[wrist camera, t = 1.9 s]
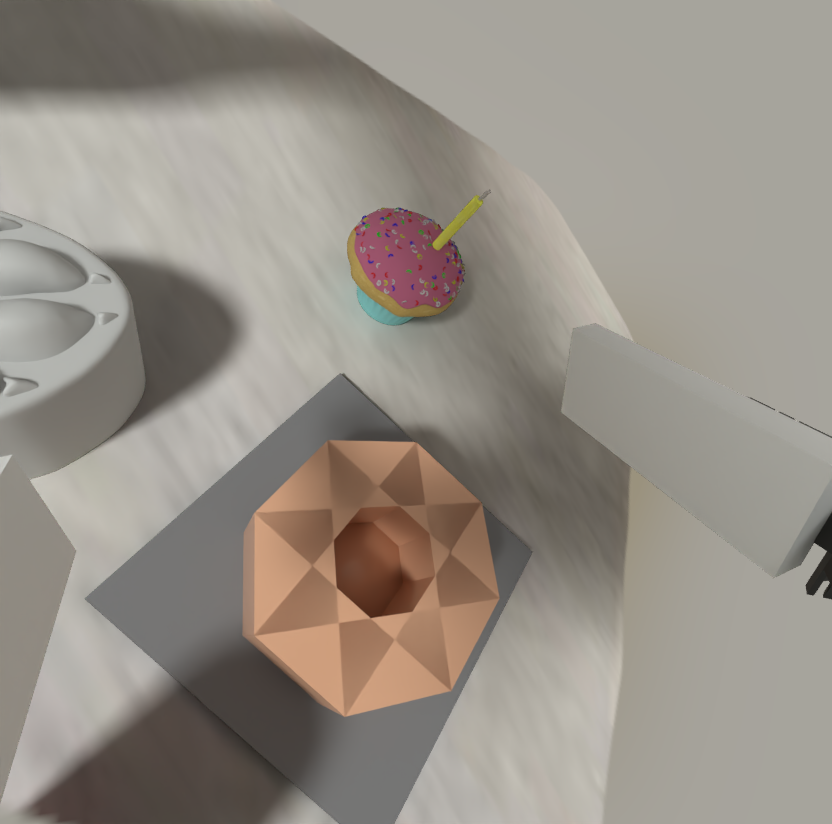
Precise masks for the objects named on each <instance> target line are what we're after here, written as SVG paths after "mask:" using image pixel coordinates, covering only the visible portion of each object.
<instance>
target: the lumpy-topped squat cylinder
mask: <svg viewBox="0 0 832 824" xmlns="http://www.w3.org/2000/svg"><path fill="white" fill-rule="evenodd" d="M145 384H146V377H145V370H144V365H143V359H142V353H141V347H140V341H139V336H138V331H137V326H136V320H135V315H134V309H133V302H132V299H131V296H130V293H129V291H128V289H127V287H126V286H125V284H124V283H123V281H122V279H121V278H120V277H119V276H118V274H117V273H116V272H115V271H114V270H113V269H112V268H111V267H109V266H108V265H107V264H106V263H105V262H104V261H103V260H102V259H100V258H99V257H98V256H96V255H95V254H94V253H92V252H91V251H90V250H88V249H87V248H86V247H84V246H83V245H81V244H79V243H78V242H76V241H74V240H73V239H71V238H69V237H67V236H65V235H63V234H60V233H58V232H56V231H54V230H51V229H49V228H46V227H44V226H42V225H39V224H36V223H34V222H31V221H28V220H26V219H23V218H20V217H17V216H15V215H12V214H9V213H6V212H3V211H0V457H3V456H8V455H13V456H14V458H15V459H16V461H17V462H18V464H19V465H20V467H21V468H22V470H23V471H24V473H25V474H26V476H27V477H28V479H33V478H37V477H40V476H43V475H46V474H49V473H52V472H55V471H57V470H59V469H61V468H63V467H65V466H67V465H69V464H70V463H72V462H74V461H75V460H77V459H79V458H80V457H82V456H83V455H85V454H86V453H88V452H90V451H91V450H93V449H94V448H95V447H97V446H98V445H100V444H101V443H103V442H104V441H105V440H107V439H108V438H109V437H111V436H112V435H113V434H114V433H115V432H117V431H118V430H119V429H120V428H121V427H122V426H123V424H124V423H125V422H126V421H127V420H128V418H129V417H130V416H131V414H132V413H133V412H134V410H135V409H136V407H137V405H138V404H139V402H140V400H141V398H142V396H143V393H144V390H145Z"/></svg>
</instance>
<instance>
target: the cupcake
mask: <svg viewBox="0 0 832 824" xmlns="http://www.w3.org/2000/svg"><path fill="white" fill-rule="evenodd" d="M489 193H491V190H488V191H486V192H485V193H484V194H483V195H482V196H481V197H479V196H478V195H476V196H474V198H473V199H472V200H471V201H470V202H469V203H468V204H467V205H466V206H465V208H464V209H463V210H462V211H461V212H460V213H459V214H458V215H457V216H456V217H455V219H454V220H453V221H452V222H451V223H450V224H449V225H448V226H447V227H446V229H445V230H443V229H441V227H440V225H439V224H438V225H437V224H436V222H435V221H434V220H433V221H432V220H431V219H429V218H427V217H425V216H423V215H421V214H418V213H415V212H411V211H408V210H404V209H401V208H396V209H389V208H381V209H380V210H379V209H378V210H377V211H375V212H373V213H371V214H369V215H367V216H363V218H362V220H361V221H360V222H359V223H358V225H357V226H356V227H355V228H354V229H353V230H352V232H351V234H350V236H349V238H348V242H347V254H348V259H349V262H350V265H351V275H352V278H353V279H354V281H355V282H356V284H357V296H358V300H359V303H360V305H361V307H362V308H363V309H364V311H365V312H366V313H367V314H368V315H369V316H370V317H372V318H373V319H375V320H376V321H378V322H381V323H383V324H387V325H400V324H403V323H405V322H407V321H409V320H410V319H412V318H413V317H425V316H433V315H437V314H439V313H442V312H443V311H445V310H446V309H447V308H448V307H449V306H450V305H451V304H452V303H453V301H454V300H455V298H456V297H457V295H458V293H459V292H460V288H461V287H462V282H464V279H463V276H464V275H465V270H464V264H462V260H461V255H460V254H459V251H458V248H457V246H456V245H455V242H454V241H451V240H450V238H451V237H452V236H453V235H454V234H455V233H456V232H457V231H458V230H459V229H460V228H461V227H462V226H463V224H464V223H465V222H466V221H467V220H468V219H469V218H470V217H471V216H472V215H473V214H474V213H475V212H476V211H477V210H478V208H479V207H480V206H481V205H482V204H483V200H482V199H484V198H485V197H486V196H487V195H488V194H489Z"/></svg>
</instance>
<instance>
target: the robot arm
mask: <svg viewBox="0 0 832 824" xmlns="http://www.w3.org/2000/svg"><path fill="white" fill-rule="evenodd" d="M561 413H562V414H564V415H565V416H566V417H568V418H569V419H570V420H571V421H573V422H574V423H575V424H577V425H578V426H579V427H580V428H582V429H583V430H584V431H586V432H587V433H588V434H589V435H591V436H592V437H593V438H595V439H596V440H597V441H598V442H600V443H601V444H602V445H603V446H605V447H606V448H607V449H609V450H610V451H611V452H612V453H614V454H615V455H616V456H618V457H619V458H620V459H621V460H623V461H624V462H625V463H627V464H628V465H629V466H630V467H632V468H633V469H634V470H636V471H637V472H638V473H639V474H641V475H642V476H643V477H644V478H646V479H647V480H648V481H650V482H651V483H652V484H654V485H655V486H656V487H658V488H659V489H660V490H661V491H663V492H664V493H665V494H666V495H668V496H669V497H670V498H671V499H673V500H674V501H675V502H677V503H678V504H679V505H681V506H682V507H683V508H684V509H686V510H687V511H688V512H689V513H691V514H692V515H693V516H695V517H696V518H697V519H698V520H700V521H701V522H702V523H703V524H705V525H706V526H707V527H709V528H710V529H711V530H713V531H714V532H715V533H717V534H718V535H719V536H720V537H721V538H723V539H724V540H725V541H727V542H728V543H729V544H731V545H732V546H733V547H734V548H736V549H737V550H738V551H739V552H741V553H742V554H743V555H745V556H746V557H747V558H748V559H750V560H751V561H752V562H753V563H755V564H756V565H757V566H759V567H760V568H762V570H764V571H765V572H766V573H768V574H769V575H770V576H772V577H773V578H775V577H777V576H779V575H781V574H783V573H785V572H787V571H789V570H791V569H793V568H796V567H797V566H799V565H801V564H802V562H803V560H804V559H805V557H806V555H807V554H808V552H809V550H810V549H811V547H812V546H813V544H814V543H816V544H817V545H819V546H820V547H822V548H823V549H825V550H826V551H827V552H826V554H825V556H824V557H823V559H822V560H821V562H820V563H819V565H818V567H817V568H816V570H815V571H814V573H813V574H812V576H811V578H810V579H809V581H808V582H807V584H806V591H807V594H809V595H814V594H815V593H816V591H817V590H818V588H819V587H820V585H821V584H822V582H823V581H829V582H830V584H829V585H828V587H827V588H826V590H825V592H824V594H823V598H829V599H832V437H831V436H829V435H827V434H825V433H823V432H821V431H819V430H816V429H814V428H812V427H810V426H808V425H806V424H804V423H802V422H798V421H796V420H795V419H794V418H792V417H790V416H788V415H785V414H783V413H781V412H777V411H775V409H773V408H771V407H769V406H767V405H765V404H763V403H761V402H759V401H757V400H754V399H752V398H749V397H746V396H744V395H742V394H740V393H738V392H736V391H734V390H732V389H730V388H728V387H725V386H723V385H721V384H719V383H717V382H715V381H713V380H711V379H709V378H707V377H705V376H703V375H701V374H699V373H696V372H694V371H693V370H690V369H688V368H686V367H684V366H682V365H680V364H678V363H676V362H674V361H672V360H670V359H668V358H666V357H664V356H662V355H659V354H658V353H655V352H653V351H651V350H649V349H647V348H645V347H643V346H641V345H639V344H637V343H635V342H633V341H631V340H629V339H627V338H625V337H623V336H620V335H618V334H616V333H614V332H612V331H610V330H608V329H606V328H604V327H602V326H600V325H598V324H596V323H595V324H590V325H586V326H582V327H577V328H573V332H572V338H571V345H570V352H569V359H568V366H567V373H566V380H565V387H564V394H563V401H562V408H561ZM75 553H76V550H75V548H74V547H73V545H72V544H71V542H70V541H69V539H68V538H67V536H66V535H65V533H64V532H63V530H62V529H61V527H60V526H59V524H58V523H57V521H56V520H55V518H54V517H53V515H52V514H51V512H50V510H49V509H48V507H47V506H46V504H45V503H44V501H43V500H42V498H41V497H40V495H39V494H38V492H37V491H36V489H35V488H34V486H33V485H32V483H31V482H30V480H29V479H28V477H27V476H26V474H25V473H24V471H23V470H22V468H21V467H20V465H19V464H18V462H17V461H16V459H15V458H14V456H13V455H8V456H3V457H0V802H1V799H2V796H3V792H4V789H5V786H6V782H7V779H8V776H9V773H10V769H11V766H12V763H13V759H14V756H15V753H16V749H17V746H18V743H19V739H20V736H21V733H22V729H23V726H24V723H25V719H26V716H27V713H28V709H29V706H30V703H31V699H32V696H33V693H34V689H35V686H36V683H37V679H38V676H39V673H40V670H41V666H42V663H43V660H44V656H45V653H46V650H47V646H48V643H49V640H50V636H51V633H52V630H53V626H54V623H55V620H56V616H57V613H58V610H59V606H60V603H61V600H62V596H63V593H64V590H65V586H66V583H67V580H68V576H69V573H70V570H71V567H72V563H73V560H74V557H75Z"/></svg>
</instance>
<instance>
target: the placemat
mask: <svg viewBox="0 0 832 824" xmlns="http://www.w3.org/2000/svg"><path fill="white" fill-rule="evenodd" d="M327 440H340V441H388V442H413V441H412V440H411V439H410V438H409V437H408V436H407V435H406V434H405V433H404V432H403V431H402V430H401V429H399V428H398V427H397V426H396V425H395V424H394V423H393V422H392V421H391V420H390V419H389V418H388V417H387V416H385V415H384V414H383V413H382V412H381V411H380V410H379V409H378V408H377V407H376V406H375V405H374V404H373V403H371V402H370V401H369V400H368V399H367V398H366V397H365V396H364V395H363V394H362V393H361V392H360V391H359V390H357V389H356V388H355V387H354V386H353V385H352V384H351V383H350V382H349V381H348V380H347V379H346V378H344V377H343V376H342V375H341V374H339V375H337V376H336V377H335V378H334V379H333V380H332V381H331V382H329V383H328V384H327V385H326V386H325V387H324V388H323V389H322V390H320V391H319V392H318V393H317V394H316V395H315V396H314V397H312V398H311V399H310V400H309V401H308V402H307V403H306V404H305V405H303V406H302V407H301V408H300V409H299V410H298V411H297V412H295V413H294V414H293V415H292V416H291V417H290V418H289V419H288V420H286V421H285V422H284V423H283V424H282V425H281V426H280V427H278V428H277V429H276V430H275V431H274V432H273V433H272V434H271V435H269V436H268V437H267V438H266V439H265V440H264V441H263V442H262V443H260V444H259V445H258V446H257V447H256V448H255V449H254V450H252V451H251V452H250V453H249V454H248V455H247V456H246V457H245V458H243V459H242V460H241V461H240V462H239V463H238V464H237V465H235V466H234V467H233V468H232V469H231V470H230V471H229V472H228V473H226V474H225V475H224V476H223V477H222V478H221V479H220V480H218V481H217V482H216V483H215V484H214V485H213V486H212V487H211V488H209V489H208V490H207V491H206V492H205V493H204V494H203V495H201V496H200V497H199V498H198V499H197V500H196V501H195V502H194V503H192V504H191V505H190V506H189V507H188V508H187V509H186V510H184V511H183V512H182V513H181V514H180V515H179V516H178V517H177V518H175V519H174V520H173V521H172V522H171V523H170V524H169V525H168V526H166V527H165V528H164V529H163V530H162V531H161V532H160V533H158V534H157V535H156V536H155V537H154V538H153V539H152V540H151V541H149V542H148V543H147V544H146V545H145V546H144V547H143V548H141V549H140V550H139V551H138V552H137V553H136V554H135V555H134V556H132V557H131V558H130V559H129V560H128V561H127V562H126V563H124V564H123V565H122V566H121V567H120V568H119V569H118V570H117V571H115V572H114V573H113V574H112V575H111V576H110V577H109V578H107V579H106V580H105V581H104V582H103V583H102V584H101V585H100V586H98V587H97V588H96V589H95V590H94V591H93V592H92V593H90V594H89V595H88V596H87V597H86V598H85V600H86V601H88V602H89V603H90V604H91V605H92V606H93V607H94V608H96V609H97V610H98V611H99V612H100V613H101V614H102V615H103V616H105V617H106V618H107V619H108V620H109V621H110V622H111V623H112V624H114V625H115V626H116V627H117V628H118V629H119V630H120V631H122V632H123V633H124V634H125V635H126V636H127V637H128V638H129V639H131V640H132V641H133V642H134V643H135V644H136V645H137V646H138V647H140V648H141V649H142V650H143V651H144V652H145V653H146V654H148V655H149V656H150V657H151V658H152V659H153V660H154V661H155V662H157V663H158V664H159V665H160V666H161V667H162V668H163V669H165V670H166V671H167V672H168V673H169V674H170V675H171V676H172V677H174V678H175V679H176V680H177V681H178V682H179V683H180V684H181V685H183V686H184V687H185V688H186V689H187V690H188V691H189V692H191V693H192V694H193V695H194V696H195V697H196V698H197V699H198V700H200V701H201V702H202V703H203V704H204V705H205V706H206V707H207V708H209V709H210V710H211V711H212V712H213V713H214V714H215V715H217V716H218V717H219V718H220V719H221V720H222V721H223V722H224V723H226V724H227V725H228V726H229V727H230V728H231V729H232V730H234V731H235V732H236V733H237V734H238V735H239V736H240V737H241V738H243V739H244V740H245V741H246V742H247V743H248V744H249V745H250V746H252V747H253V748H254V749H255V750H256V751H257V752H258V753H260V754H261V755H262V756H263V757H264V758H265V759H266V760H267V761H269V762H270V763H271V764H272V765H273V766H274V767H275V768H277V769H278V770H279V771H280V772H281V773H282V774H283V775H284V776H286V777H287V778H288V779H289V780H290V781H291V782H292V783H293V784H295V785H296V786H297V787H298V788H299V789H300V790H301V791H303V792H304V793H305V794H306V795H307V796H308V797H309V798H310V799H312V800H313V801H314V802H315V803H316V804H317V805H318V806H319V807H321V808H322V809H323V810H324V811H325V812H326V813H327V814H329V815H330V816H331V817H332V818H333V819H334V820H335V821H336V822H338V823H339V824H394V823H395V821H396V819H397V817H398V815H399V813H400V812H401V810H402V808H403V806H404V804H405V802H406V800H407V798H408V796H409V794H410V792H411V790H412V788H413V786H414V784H415V782H416V780H417V778H418V776H419V774H420V772H421V770H422V768H423V766H424V764H425V762H426V760H427V758H428V756H429V755H430V753H431V751H432V749H433V747H434V745H435V743H436V741H437V739H438V737H439V735H440V733H441V731H442V729H443V727H444V725H445V723H446V721H447V719H448V717H449V715H450V713H451V711H452V709H453V707H454V705H455V703H456V701H457V699H458V698H459V696H460V694H461V692H462V690H463V688H464V686H465V684H466V682H467V680H468V678H469V676H470V674H471V672H472V670H473V668H474V666H475V664H476V662H477V660H478V658H479V656H480V654H481V652H482V650H483V648H484V646H485V644H486V642H487V641H488V639H489V637H490V635H491V633H492V631H493V629H494V627H495V625H496V623H497V621H498V619H499V617H500V615H501V613H502V611H503V609H504V607H505V605H506V603H507V601H508V599H509V597H510V595H511V593H512V591H513V589H514V587H515V585H516V584H517V582H518V580H519V578H520V576H521V574H522V572H523V570H524V568H525V566H526V564H527V562H528V560H529V558H530V556H531V554H532V551H531V550H530V549H529V548H528V547H527V546H526V545H525V544H523V543H522V542H521V541H520V540H519V539H518V538H517V537H516V536H515V535H514V534H513V533H512V532H511V531H509V530H508V529H507V528H506V527H505V526H504V525H503V524H502V523H501V522H500V521H499V520H498V519H497V518H495V517H494V516H493V515H492V514H491V513H490V512H489V511H488V510H487V509H486V508H485V507H484V506H483V505H482V507H483V512H484V518H485V523H486V528H487V534H488V539H489V544H490V550H491V555H492V560H493V566H494V571H495V576H496V582H497V587H498V592H499V598H500V599H499V600H498V602H497V604H496V606H495V608H494V610H493V612H492V614H491V616H490V618H489V619H488V621H487V623H486V625H485V627H484V629H483V631H482V633H481V635H480V637H479V639H478V641H477V642H476V644H475V646H474V648H473V650H472V652H471V654H470V656H469V658H468V660H467V662H466V663H465V665H464V667H463V669H462V671H461V673H460V675H459V677H458V679H457V681H456V683H455V685H454V686H453V688H452V690H451V691H449V692H445V693H441V694H436V695H432V696H428V697H424V698H420V699H416V700H412V701H408V702H404V703H400V704H395V705H391V706H387V707H383V708H379V709H375V710H371V711H367V712H363V713H359V714H354V715H350V716H346V717H344V716H342V715H340V714H338V713H336V712H334V711H333V710H331V709H329V708H327V707H325V706H323V705H321V704H319V703H318V702H316V701H315V700H314V699H313V698H312V697H311V696H310V695H309V694H307V693H306V692H305V691H304V690H303V689H302V688H301V687H300V686H298V685H297V684H296V683H295V682H294V681H293V680H292V679H291V678H290V677H288V676H287V675H286V674H285V673H284V672H283V671H282V670H281V669H279V668H278V667H277V666H276V665H275V664H274V663H273V662H272V661H270V660H269V659H268V658H267V657H266V656H265V655H264V654H263V653H262V652H260V651H259V650H258V649H257V648H256V647H255V646H254V645H253V644H251V643H250V642H249V641H248V640H247V639H246V638H245V637H244V636H242V629H243V545H244V531H245V529H246V528H247V526H248V524H249V522H250V520H251V518H252V516H253V515H254V513H255V512H256V511H257V510H258V509H259V508H260V507H261V506H262V505H263V504H264V503H265V502H266V501H267V500H268V499H269V498H270V497H271V496H272V495H273V494H274V493H275V492H276V491H277V490H278V489H279V488H280V487H281V486H282V485H283V484H284V483H285V482H286V481H287V480H288V479H289V478H290V477H291V476H292V475H293V474H294V473H295V472H296V471H297V470H298V469H299V468H300V467H301V466H302V465H303V464H304V463H305V462H306V461H307V460H308V459H309V458H310V457H311V456H312V455H313V454H314V453H315V452H316V451H317V450H319V449H320V448H321V447H322V446H323V445H324V444H325V443H326V442H327Z"/></svg>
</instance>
